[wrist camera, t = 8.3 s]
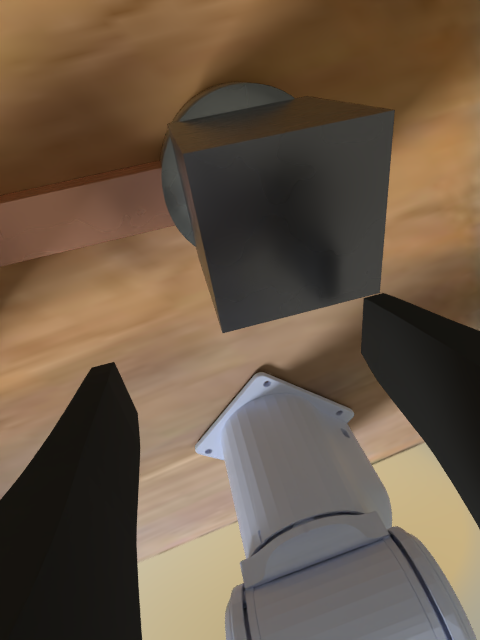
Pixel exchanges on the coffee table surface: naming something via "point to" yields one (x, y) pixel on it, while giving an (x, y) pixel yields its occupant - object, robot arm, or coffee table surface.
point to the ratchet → (115, 192)
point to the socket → (286, 204)
